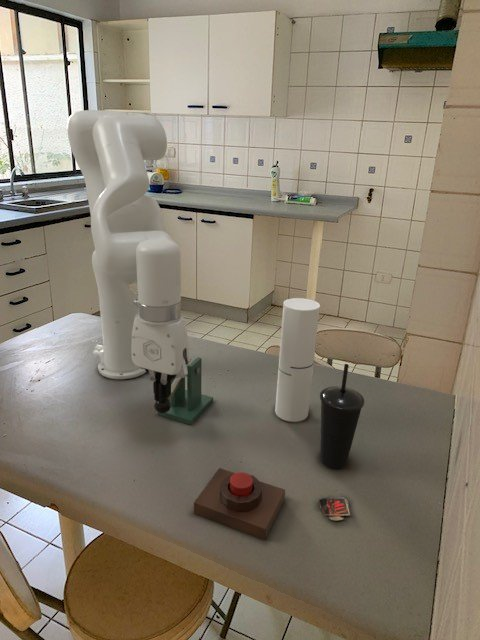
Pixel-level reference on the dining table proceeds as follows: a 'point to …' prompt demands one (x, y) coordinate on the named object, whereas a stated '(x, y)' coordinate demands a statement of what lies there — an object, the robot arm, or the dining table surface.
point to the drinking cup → (338, 422)
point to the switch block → (240, 505)
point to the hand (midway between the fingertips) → (162, 398)
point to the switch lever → (166, 405)
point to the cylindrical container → (296, 358)
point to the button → (241, 484)
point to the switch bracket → (189, 397)
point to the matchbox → (334, 507)
